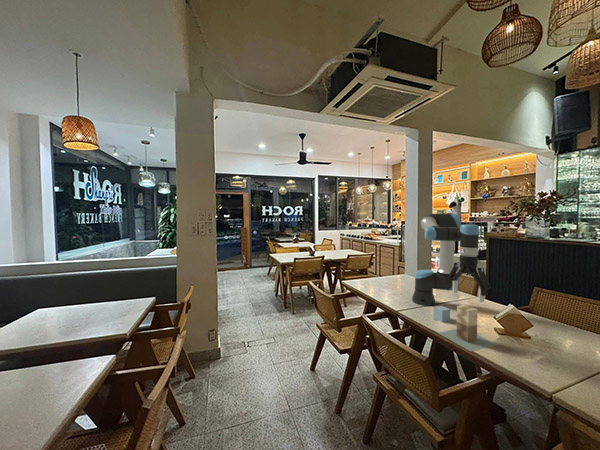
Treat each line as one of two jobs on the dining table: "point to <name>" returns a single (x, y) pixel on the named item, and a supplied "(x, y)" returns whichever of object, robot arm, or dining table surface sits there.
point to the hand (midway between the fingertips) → (467, 297)
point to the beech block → (467, 315)
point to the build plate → (470, 346)
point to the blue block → (441, 314)
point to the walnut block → (467, 332)
